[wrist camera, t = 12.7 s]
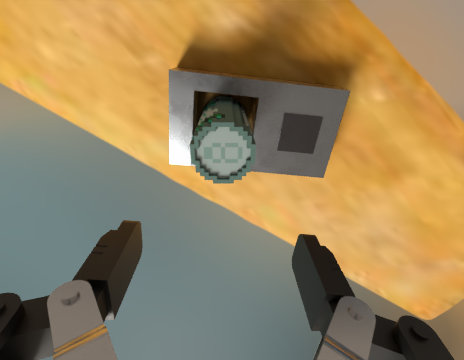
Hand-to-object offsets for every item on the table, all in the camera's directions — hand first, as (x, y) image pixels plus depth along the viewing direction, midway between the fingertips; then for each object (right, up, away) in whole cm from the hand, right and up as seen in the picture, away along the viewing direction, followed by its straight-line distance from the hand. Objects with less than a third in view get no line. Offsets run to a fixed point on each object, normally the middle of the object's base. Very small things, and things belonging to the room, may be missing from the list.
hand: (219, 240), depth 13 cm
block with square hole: (+3, +12, +24) cm, 27 cm away
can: (0, +12, +24) cm, 27 cm away
